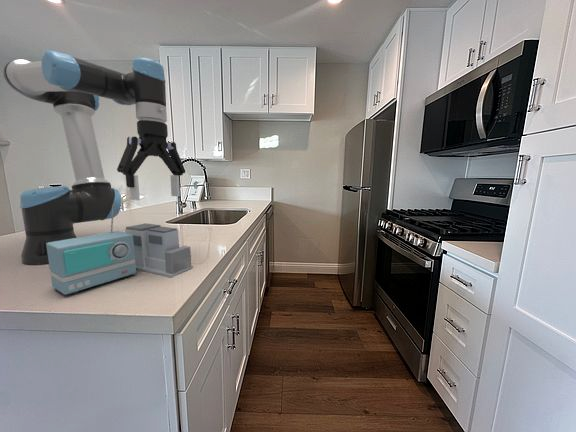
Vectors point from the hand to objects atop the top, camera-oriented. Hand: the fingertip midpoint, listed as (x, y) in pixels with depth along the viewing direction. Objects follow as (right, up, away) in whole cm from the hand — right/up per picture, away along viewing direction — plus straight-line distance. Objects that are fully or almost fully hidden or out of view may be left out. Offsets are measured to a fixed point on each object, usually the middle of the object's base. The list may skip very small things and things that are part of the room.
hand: (156, 197), depth 74 cm
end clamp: (+6, -21, 0) cm, 22 cm away
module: (+1, -17, +2) cm, 18 cm away
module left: (-6, -20, +6) cm, 22 cm away
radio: (-11, -23, -8) cm, 27 cm away
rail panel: (-1, -21, +3) cm, 21 cm away
